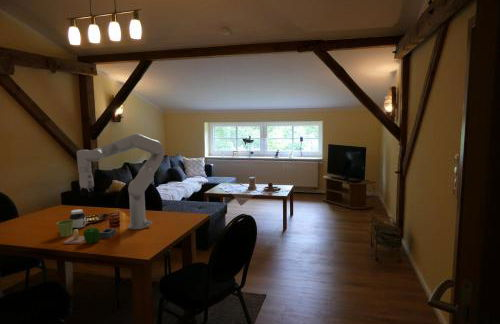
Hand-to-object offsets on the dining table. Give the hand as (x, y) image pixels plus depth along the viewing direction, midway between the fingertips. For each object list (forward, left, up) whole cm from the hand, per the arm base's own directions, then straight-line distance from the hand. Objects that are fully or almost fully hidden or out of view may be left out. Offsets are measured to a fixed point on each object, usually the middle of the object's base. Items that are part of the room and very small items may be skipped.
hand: (87, 196), depth 205 cm
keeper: (0, +16, -23) cm, 28 cm away
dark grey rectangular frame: (-15, +8, -23) cm, 28 cm away
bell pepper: (-11, +19, -23) cm, 32 cm away
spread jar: (+13, -9, -23) cm, 28 cm away
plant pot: (+11, +7, -23) cm, 26 cm away
